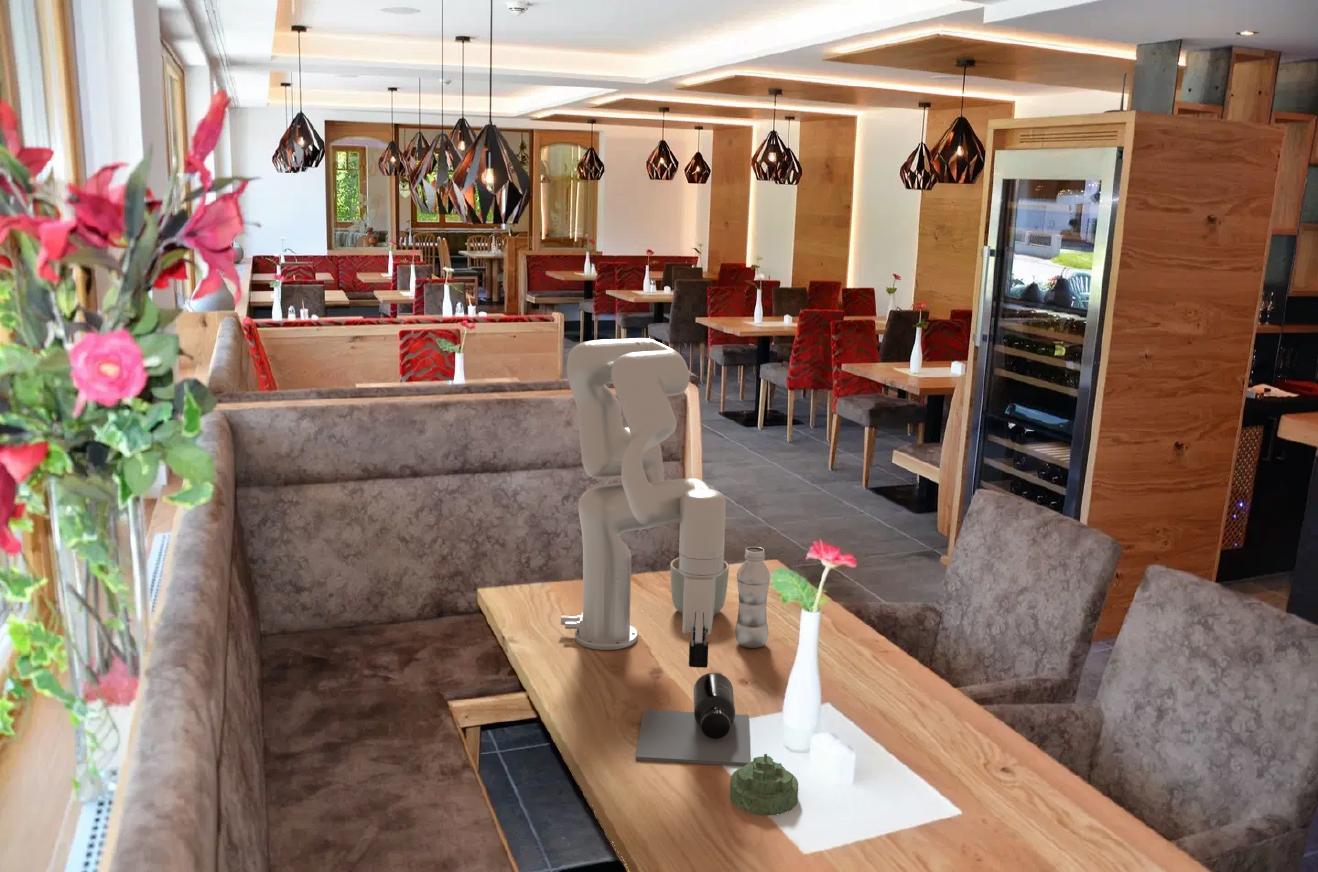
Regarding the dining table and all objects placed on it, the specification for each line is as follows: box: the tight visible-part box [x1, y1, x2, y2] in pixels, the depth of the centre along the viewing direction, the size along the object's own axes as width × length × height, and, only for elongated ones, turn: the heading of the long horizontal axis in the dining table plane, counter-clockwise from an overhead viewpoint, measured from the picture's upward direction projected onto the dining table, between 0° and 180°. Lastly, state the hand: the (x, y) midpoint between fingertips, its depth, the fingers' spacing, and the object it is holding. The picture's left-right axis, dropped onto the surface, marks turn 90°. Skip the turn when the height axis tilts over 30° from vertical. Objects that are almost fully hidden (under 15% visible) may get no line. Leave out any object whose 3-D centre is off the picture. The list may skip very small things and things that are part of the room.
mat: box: [635, 709, 751, 767], centre depth 175 cm, size 18×16×1 cm
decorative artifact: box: [729, 753, 799, 816], centre depth 158 cm, size 10×7×10 cm
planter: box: [669, 557, 730, 617], centre depth 228 cm, size 12×12×11 cm
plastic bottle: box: [734, 546, 771, 649], centre depth 210 cm, size 6×7×20 cm
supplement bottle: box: [693, 672, 736, 739], centre depth 177 cm, size 7×7×12 cm
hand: (698, 665), depth 182 cm, fingers closed
